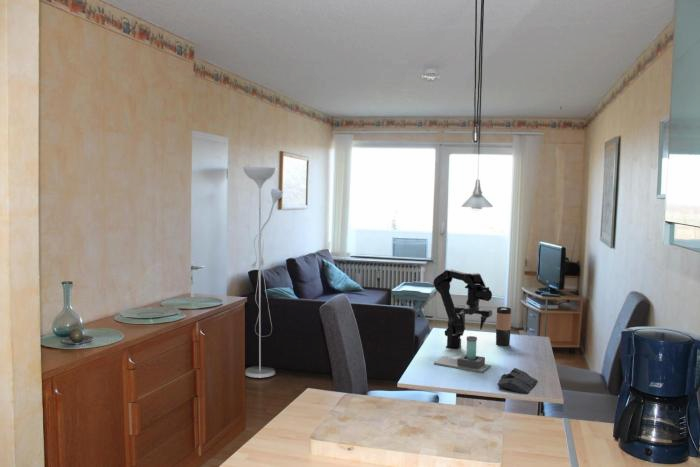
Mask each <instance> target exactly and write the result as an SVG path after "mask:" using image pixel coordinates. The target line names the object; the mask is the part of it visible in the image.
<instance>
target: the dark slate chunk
mask: <svg viewBox="0 0 700 467" xmlns="http://www.w3.org/2000/svg"><path fill="white" fill-rule="evenodd" d="M537 384H538V380H537V379H536V378H535V377H532V376H530V374H528V373H527V372H526V371H524V370H521V369H519V368H517V367H514V368H513V369H511V371H510V372H509V373H504V374H502V376H501V377H500V379H499V381H498V382H497V386H498V388H500V389H504V390H507V389H509V391H513V392H515V393H520V394H529V393H531V391H532V390H534V388H535V387H536V386H537Z"/></svg>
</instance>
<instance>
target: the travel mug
mask: <svg viewBox="0 0 700 467" xmlns="http://www.w3.org/2000/svg"><path fill="white" fill-rule="evenodd" d="M511 318H512V308H510V307H505V306H500V307H499V306H498V307H497V308H496V324H495V326H496V327H495V344H496V345H497V346H500V347H508V346H510V345H511V344H510V341H511V329H512V328H511V327H512V326H511V324H512V319H511Z"/></svg>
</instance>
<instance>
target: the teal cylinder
mask: <svg viewBox="0 0 700 467" xmlns="http://www.w3.org/2000/svg"><path fill="white" fill-rule="evenodd" d="M477 341H478V337H477V336H473V335H469V336H468V335H467V336H466V354H467V359H470V360H476V356H477Z"/></svg>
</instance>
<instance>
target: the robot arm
mask: <svg viewBox="0 0 700 467" xmlns="http://www.w3.org/2000/svg"><path fill="white" fill-rule="evenodd" d="M453 279H456V280H459V281H462V282H464V283H465V284H466V285H465V286H464V288H465V289H467V299H466V301H465V302H466V303H465V304H464V306H461V305H459V306H455V305H454V301H453V299H452V295H451V293H450V288H451V283H452V281H453ZM432 283H433V286H434V288H435V290H436V291H437V292H438V293H439V295H440V297H441V300H442V303H443V306H444V309H445V312H446V316H447V317H448V318H447V319H448V320H447V328H446V330H444V336H445V337H446V339H447V340H446V345H445V348H447V347H449V348H448V349H456V350H458V349H460V348H461V347H462V338H461V336H462V337H463V336H464V332H465V329H466V323H465V322H466V315H470V316H472V315H474V314H476V315H480V325H479V329H480V330H482V329H483V327H484V325H485V322H486V320H487V319H488V318H490V317H492V316H493V311H492V309H486V308H485V309H482V310H480V306H479V305H480V301H485V302H490V301H491V300H492V297H493V292H492V291H491V290H490V287H489V286H488V287H487V286H486V284H485V282H484V280H483V278H482V275H481V273H478V272H477V273H476V272H475V273H473V272H472V273H467V272H463V271H459V270H454V269H445V270H444V271H443V272H442V273H441V274H438V275H437V276H436V277H435V278H434V280H433V282H432Z"/></svg>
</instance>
